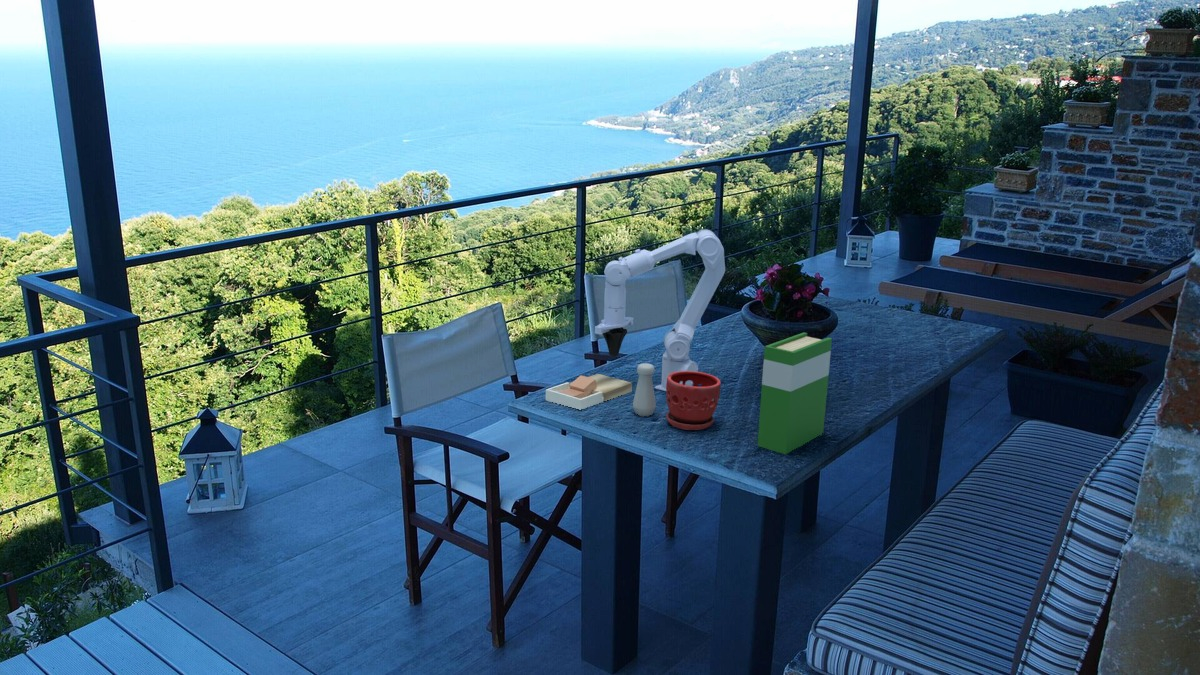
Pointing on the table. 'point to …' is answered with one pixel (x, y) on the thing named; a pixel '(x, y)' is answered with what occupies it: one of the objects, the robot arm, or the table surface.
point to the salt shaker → (644, 391)
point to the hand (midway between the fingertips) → (613, 355)
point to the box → (572, 398)
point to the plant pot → (692, 399)
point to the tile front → (574, 393)
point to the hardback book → (793, 392)
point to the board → (610, 386)
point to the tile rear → (584, 384)
